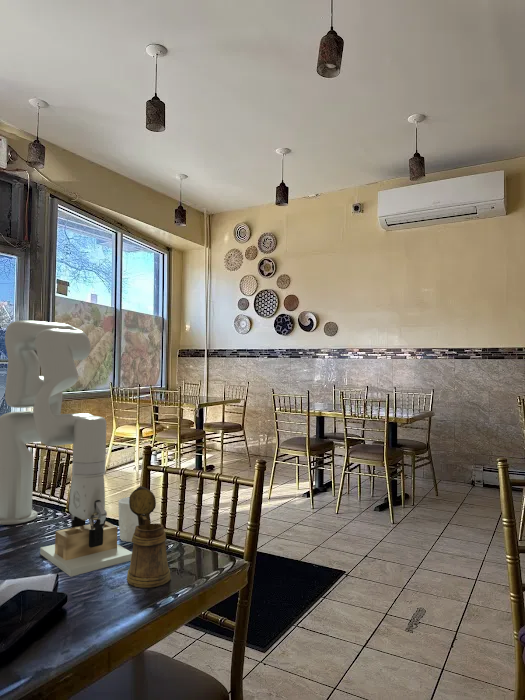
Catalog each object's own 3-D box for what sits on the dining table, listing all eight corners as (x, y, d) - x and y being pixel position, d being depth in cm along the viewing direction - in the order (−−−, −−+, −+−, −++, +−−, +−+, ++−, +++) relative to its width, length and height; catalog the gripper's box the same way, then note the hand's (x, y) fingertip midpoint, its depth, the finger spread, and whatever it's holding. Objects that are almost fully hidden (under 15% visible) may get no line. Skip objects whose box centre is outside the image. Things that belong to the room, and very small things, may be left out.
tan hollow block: (65, 560, 113) (66, 537, 114) (54, 552, 118) (55, 531, 118) (117, 547, 122) (117, 526, 122) (104, 541, 126) (105, 520, 127)
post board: (40, 553, 121) (41, 528, 121) (99, 540, 131) (99, 517, 132) (70, 576, 108) (71, 548, 108) (133, 559, 118) (134, 533, 119)
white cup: (130, 545, 128) (131, 505, 129) (111, 538, 133) (112, 500, 133) (154, 537, 134) (155, 499, 135) (135, 531, 139) (136, 494, 140)
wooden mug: (157, 561, 117) (159, 483, 118) (175, 583, 105) (177, 496, 106) (119, 567, 113) (121, 487, 114) (132, 591, 101) (135, 501, 102)
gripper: (59, 464, 124) (56, 535, 124) (89, 476, 112) (87, 554, 111) (88, 461, 130) (86, 529, 129) (120, 471, 117) (118, 546, 116)
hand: (86, 540), depth 120 cm, fingers open, 9 cm apart
